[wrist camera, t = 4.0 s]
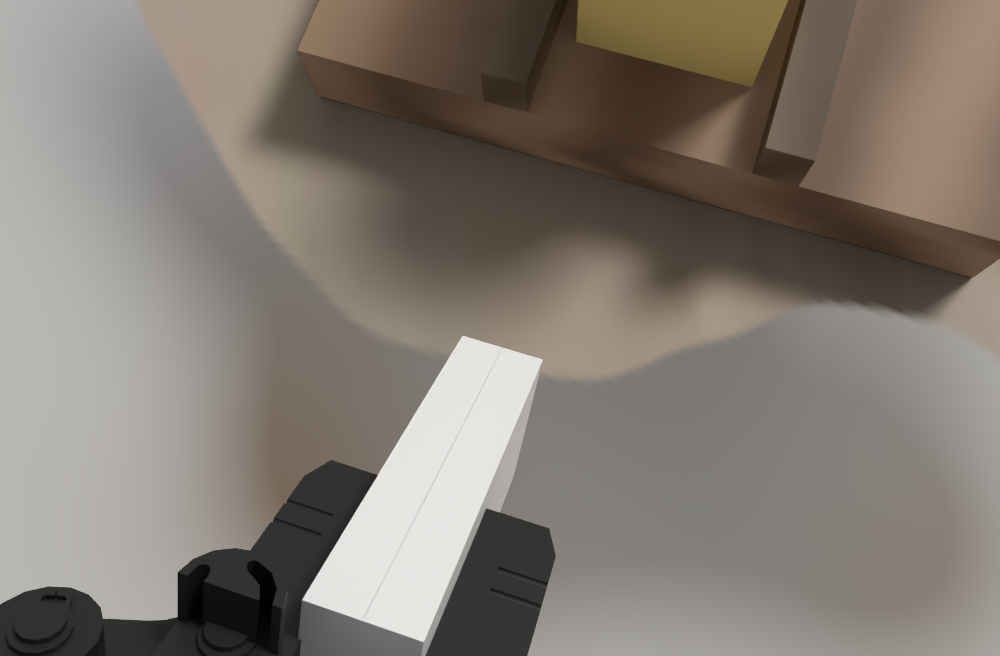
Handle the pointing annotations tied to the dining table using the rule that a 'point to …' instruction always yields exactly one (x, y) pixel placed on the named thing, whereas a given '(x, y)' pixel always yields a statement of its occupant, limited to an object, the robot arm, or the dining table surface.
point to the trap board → (714, 109)
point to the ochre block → (685, 33)
